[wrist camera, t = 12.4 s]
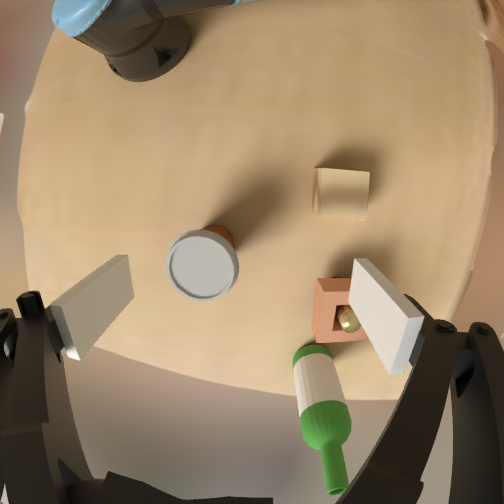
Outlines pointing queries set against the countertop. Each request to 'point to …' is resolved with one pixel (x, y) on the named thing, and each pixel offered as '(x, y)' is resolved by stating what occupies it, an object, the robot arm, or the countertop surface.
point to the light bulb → (347, 317)
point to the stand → (340, 194)
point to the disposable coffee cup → (203, 263)
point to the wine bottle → (323, 412)
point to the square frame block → (332, 311)
